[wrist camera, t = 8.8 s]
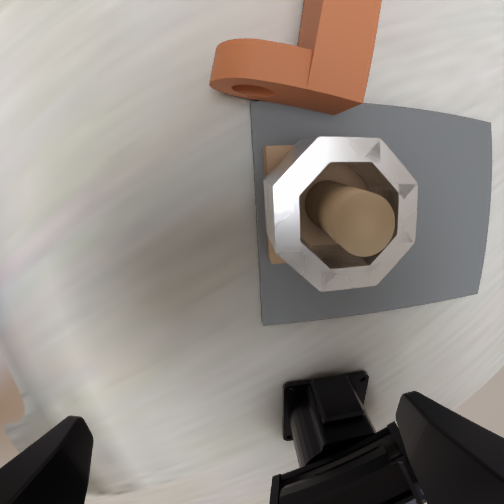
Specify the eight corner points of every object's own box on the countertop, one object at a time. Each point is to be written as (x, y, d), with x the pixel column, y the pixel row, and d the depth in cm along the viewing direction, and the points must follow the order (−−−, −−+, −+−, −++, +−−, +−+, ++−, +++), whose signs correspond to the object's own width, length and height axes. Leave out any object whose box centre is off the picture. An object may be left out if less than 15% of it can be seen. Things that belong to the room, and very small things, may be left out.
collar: (380, 257, 17) (410, 280, 14) (267, 267, 17) (276, 296, 13) (382, 141, 15) (417, 140, 12) (261, 141, 15) (270, 137, 11)
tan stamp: (367, 247, 18) (424, 291, 12) (268, 255, 18) (288, 308, 12) (368, 146, 17) (433, 146, 10) (262, 146, 16) (283, 141, 10)
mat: (473, 290, 21) (477, 293, 20) (261, 320, 20) (262, 325, 19) (485, 122, 17) (490, 122, 16) (250, 103, 16) (250, 101, 16)
